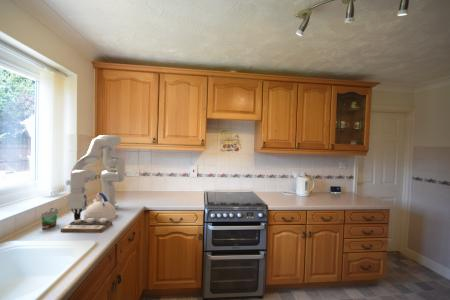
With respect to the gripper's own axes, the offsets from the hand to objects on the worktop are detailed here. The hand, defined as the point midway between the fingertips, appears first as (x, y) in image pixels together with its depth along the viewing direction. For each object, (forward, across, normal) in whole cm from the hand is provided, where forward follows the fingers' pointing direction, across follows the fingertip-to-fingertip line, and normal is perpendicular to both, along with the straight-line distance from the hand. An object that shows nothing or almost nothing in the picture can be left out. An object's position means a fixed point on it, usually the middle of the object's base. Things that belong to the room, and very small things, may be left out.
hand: (77, 219), depth 137 cm
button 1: (+2, 0, 0) cm, 2 cm away
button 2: (+1, -16, 0) cm, 16 cm away
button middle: (+1, -8, 0) cm, 8 cm away
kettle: (+5, -5, -17) cm, 19 cm away
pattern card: (+3, -8, +6) cm, 11 cm away
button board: (+5, -8, +2) cm, 10 cm away
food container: (+5, +16, 0) cm, 17 cm away
